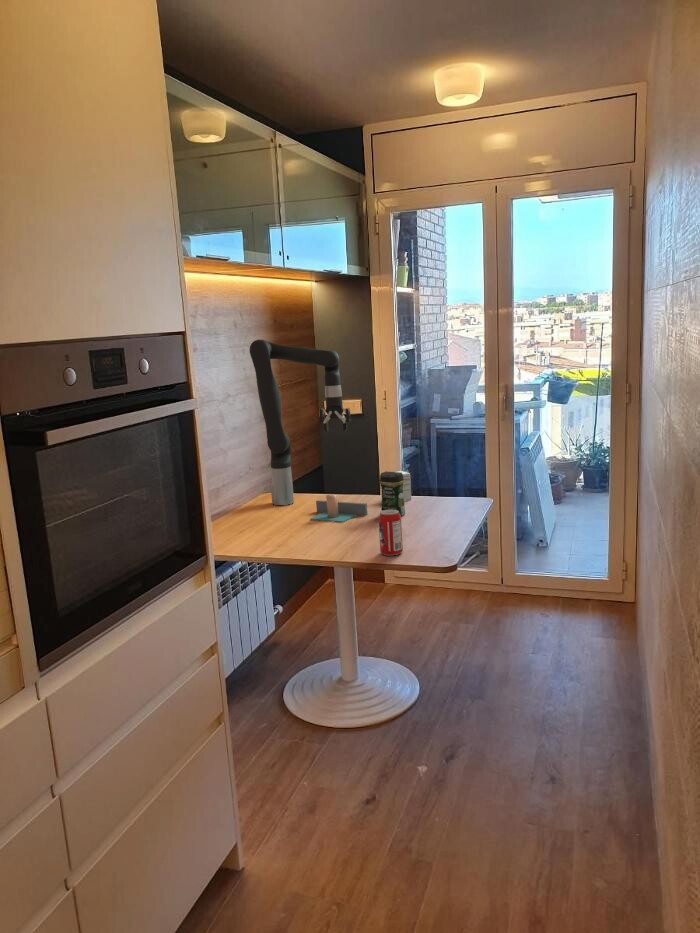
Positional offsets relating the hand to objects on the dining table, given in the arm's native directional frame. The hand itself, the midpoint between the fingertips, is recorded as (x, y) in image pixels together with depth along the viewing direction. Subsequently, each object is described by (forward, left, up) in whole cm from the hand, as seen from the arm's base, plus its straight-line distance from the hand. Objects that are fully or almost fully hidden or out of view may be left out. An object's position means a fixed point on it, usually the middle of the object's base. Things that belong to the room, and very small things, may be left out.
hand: (336, 431), depth 332 cm
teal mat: (+7, -31, -32) cm, 45 cm away
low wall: (+9, -23, -32) cm, 41 cm away
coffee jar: (+32, -25, -32) cm, 52 cm away
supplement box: (+28, +2, -32) cm, 43 cm away
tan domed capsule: (+7, -31, -32) cm, 45 cm away
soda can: (+45, -75, -32) cm, 93 cm away
